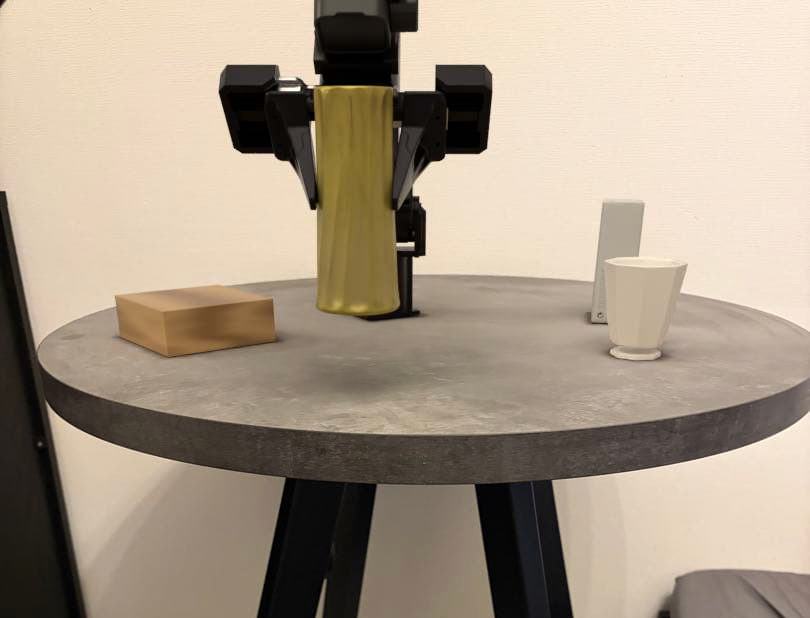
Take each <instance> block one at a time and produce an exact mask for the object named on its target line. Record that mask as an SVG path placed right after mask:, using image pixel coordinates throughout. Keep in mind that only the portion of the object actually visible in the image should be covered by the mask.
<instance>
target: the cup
mask: <svg viewBox="0 0 810 618" xmlns="http://www.w3.org/2000/svg"><path fill="white" fill-rule="evenodd" d="M688 265H689V263H688V262H685V261H681V260H678V259H675V258H666V257H665V258H664V257H655V256H653V257H652V256H639V257H617V258H613V259H609V260H605V261H604V271H605V288H606V312H607V322H608V323H607V327H608V335H609V341H610V342H612V343H613V344H614V345H617V346H615V347H613V348H611V349H610V351H609V354H610V355H612V356H613V357H615V358H617V359H623V360H630V361H654V360H656V359H658V358H660V357H661V355H662V352H661V351H660V350H658V349H656V348H657V347H659V346H661V345H662V344H664V342H665V340H666V337H667V335H668V331H669V329H670V326H671V324H672V322H673V318H674V315H675V311H676V308H677V305H678V300H679V298H680V293H681V290H682V287H683V284H684V280H685V276H686V274H687V273H686V272H687V269H688Z"/></svg>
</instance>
